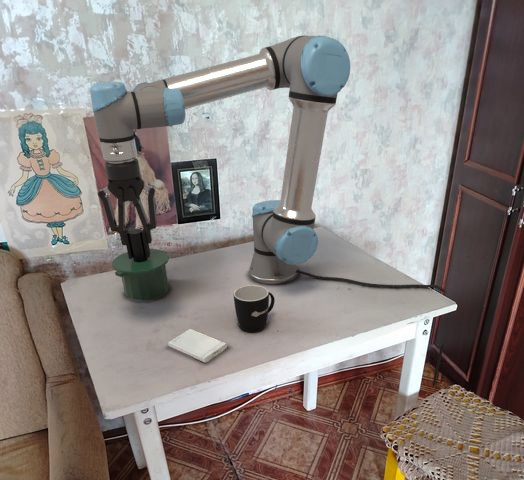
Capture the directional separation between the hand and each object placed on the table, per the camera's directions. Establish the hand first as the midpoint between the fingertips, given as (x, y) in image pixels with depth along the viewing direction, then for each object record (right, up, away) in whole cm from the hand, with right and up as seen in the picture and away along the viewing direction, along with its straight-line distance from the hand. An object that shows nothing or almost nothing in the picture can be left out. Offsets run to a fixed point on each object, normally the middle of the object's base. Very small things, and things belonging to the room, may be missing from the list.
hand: (139, 255), depth 126 cm
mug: (+30, -17, +7) cm, 35 cm away
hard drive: (+15, -24, -1) cm, 28 cm away
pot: (-4, -6, +25) cm, 26 cm away
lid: (0, -1, +1) cm, 2 cm away
